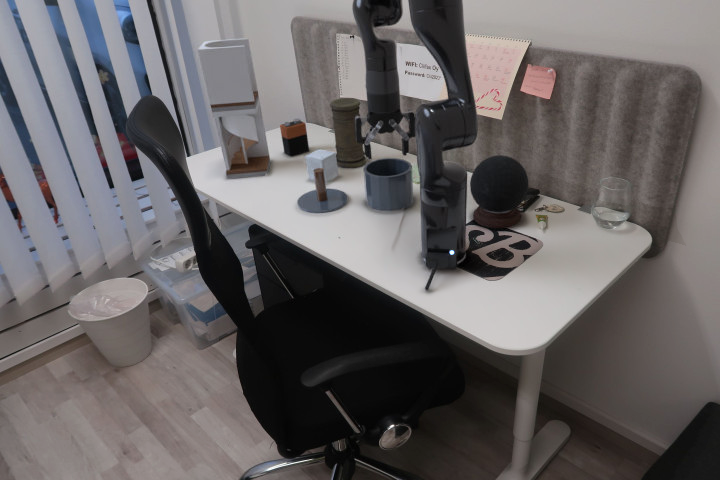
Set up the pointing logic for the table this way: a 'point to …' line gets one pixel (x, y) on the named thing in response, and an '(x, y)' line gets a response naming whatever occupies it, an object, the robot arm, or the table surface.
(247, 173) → the white shelf tower
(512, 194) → the black ball on stand
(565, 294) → the table surface
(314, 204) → the lid
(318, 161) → the product box
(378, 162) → the canister
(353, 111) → the container
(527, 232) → the table surface
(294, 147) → the battery
